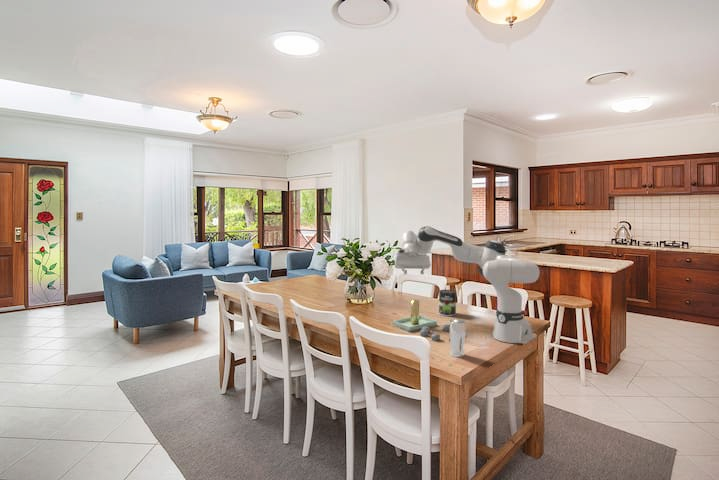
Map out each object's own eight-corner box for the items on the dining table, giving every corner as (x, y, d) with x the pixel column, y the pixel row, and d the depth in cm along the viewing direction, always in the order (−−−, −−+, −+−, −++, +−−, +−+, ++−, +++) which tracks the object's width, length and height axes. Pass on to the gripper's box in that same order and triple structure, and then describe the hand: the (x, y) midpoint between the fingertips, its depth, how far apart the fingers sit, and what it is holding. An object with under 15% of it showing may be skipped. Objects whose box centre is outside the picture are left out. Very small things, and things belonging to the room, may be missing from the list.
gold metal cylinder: (415, 322, 213) (415, 299, 212) (420, 324, 209) (420, 301, 208) (409, 323, 210) (409, 300, 209) (414, 325, 207) (414, 302, 206)
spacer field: (440, 326, 207) (440, 322, 207) (471, 337, 189) (471, 332, 189) (414, 333, 196) (414, 328, 196) (444, 345, 179) (445, 340, 179)
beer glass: (464, 358, 163) (464, 324, 162) (447, 356, 166) (448, 322, 164) (466, 352, 170) (466, 319, 168) (450, 350, 172) (450, 318, 171)
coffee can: (455, 316, 226) (455, 293, 225) (437, 315, 229) (438, 292, 228) (456, 312, 236) (456, 290, 235) (439, 311, 239) (439, 289, 238)
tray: (419, 319, 221) (419, 315, 221) (436, 325, 209) (436, 320, 209) (392, 325, 210) (392, 320, 210) (409, 332, 198) (409, 327, 198)
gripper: (427, 258, 223) (431, 277, 214) (393, 257, 222) (395, 276, 213) (429, 251, 219) (433, 270, 209) (394, 250, 217) (396, 270, 208)
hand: (413, 273), depth 211 cm, fingers open, 8 cm apart
